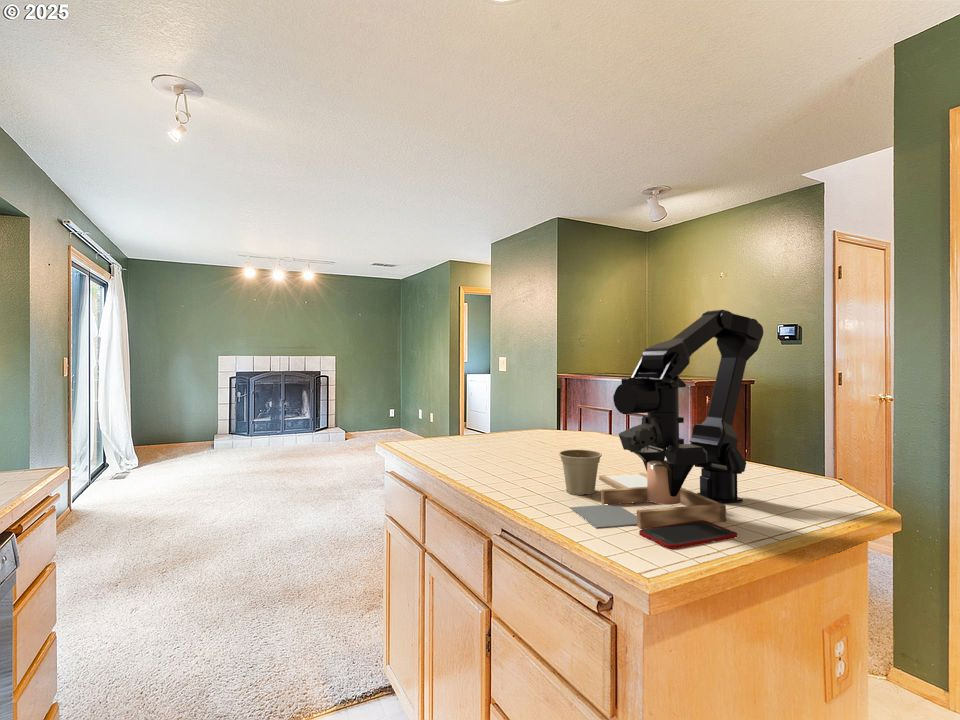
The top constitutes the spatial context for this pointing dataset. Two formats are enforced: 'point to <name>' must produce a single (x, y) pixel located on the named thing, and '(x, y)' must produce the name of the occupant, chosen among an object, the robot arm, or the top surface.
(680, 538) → the cell phone
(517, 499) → the top surface
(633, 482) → the wood framed whiteboard
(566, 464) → the flower pot
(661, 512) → the wooden u-shaped frame
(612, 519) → the mat
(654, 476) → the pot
